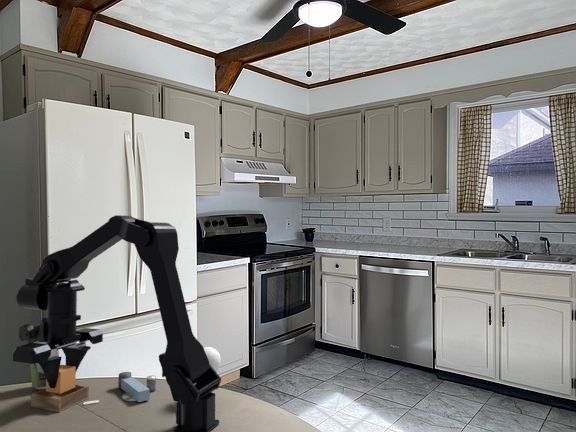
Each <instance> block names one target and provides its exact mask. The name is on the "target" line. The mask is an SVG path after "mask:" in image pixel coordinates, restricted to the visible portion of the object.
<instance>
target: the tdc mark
mask: <svg viewBox="0 0 576 432" xmlns="http://www.w3.org/2000/svg"><path fill="white" fill-rule="evenodd" d="M99 403H100V400H99V399H97V400H96V399H95V400H89V401H85V402H83V406H89V405H94V404H95V405H96V404H99Z"/></svg>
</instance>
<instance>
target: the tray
mask: <svg viewBox="0 0 576 432" xmlns="http://www.w3.org/2000/svg"><path fill="white" fill-rule="evenodd" d="M89 387H90V386H88V385H82V384H76V383H75V388H73V389H70V390H68V391H66V392H63V393H61V394H59V393H53V392H47V391H46V388H45V389H40V390H39V391H37V392H36V391H35V392H34V393H31V394H30V407H31V408H35V409H41V410H46V411H51V412H58V413H60V412H62V411H65V410H67V409H69V408H71V407H73V406H76V405H78V404H79V403H81V402H83V401H86V400H88V399H89V396H90V395H89V391H90V390H89V389H90V388H89Z"/></svg>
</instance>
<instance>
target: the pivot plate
mask: <svg viewBox="0 0 576 432" xmlns="http://www.w3.org/2000/svg"><path fill="white" fill-rule="evenodd" d="M121 399H122V400H123V401H126V402H138V401H137V400H135V399H134V398H132V397H129V394H128V393H126V392H125V393H124V394H123V395H122V396H121Z"/></svg>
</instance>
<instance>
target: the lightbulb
mask: <svg viewBox="0 0 576 432" xmlns="http://www.w3.org/2000/svg"><path fill="white" fill-rule="evenodd" d="M203 348H204V350H205V353H206V355H207V358H208V360H209V364H210V365H211V366H212V368H213V369H214V370H215V371H216V373H217V372H218V370H219V369H220V366H221V363H222V360H221V359H222V357H221V355H220V353H219V351H218V350H217V349H215V348H214V347H211V346H205V347H204V346H203Z"/></svg>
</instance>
